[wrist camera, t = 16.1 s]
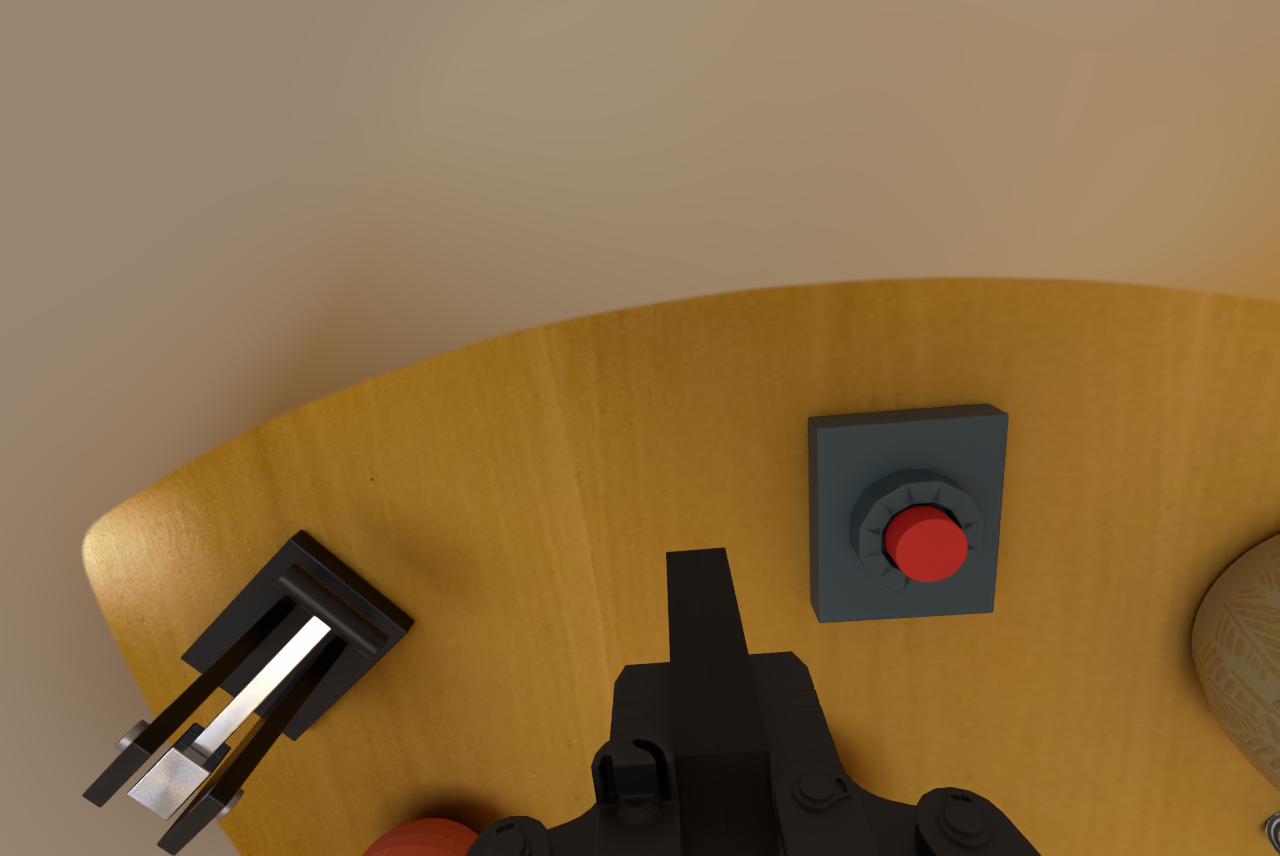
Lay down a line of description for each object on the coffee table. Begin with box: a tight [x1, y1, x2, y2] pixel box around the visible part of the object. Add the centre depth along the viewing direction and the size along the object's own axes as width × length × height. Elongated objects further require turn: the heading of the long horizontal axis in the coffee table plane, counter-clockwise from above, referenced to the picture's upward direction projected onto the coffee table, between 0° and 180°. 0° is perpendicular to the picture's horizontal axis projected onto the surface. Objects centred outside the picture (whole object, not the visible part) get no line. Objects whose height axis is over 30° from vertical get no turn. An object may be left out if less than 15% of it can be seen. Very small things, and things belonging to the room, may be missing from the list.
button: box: [885, 506, 968, 582], centre depth 33 cm, size 4×4×2 cm
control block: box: [808, 404, 1009, 623], centre depth 36 cm, size 12×10×4 cm
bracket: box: [82, 530, 414, 856], centre depth 35 cm, size 12×9×13 cm
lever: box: [127, 562, 390, 820], centre depth 31 cm, size 12×6×2 cm, turn 135°
